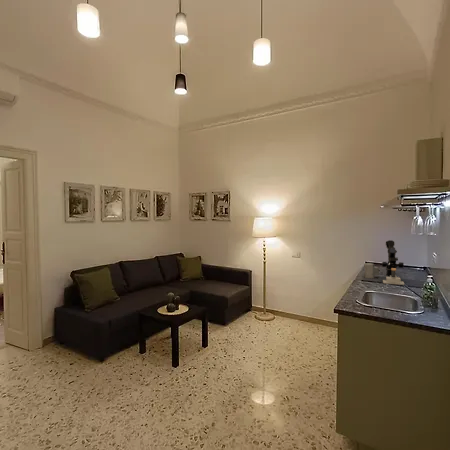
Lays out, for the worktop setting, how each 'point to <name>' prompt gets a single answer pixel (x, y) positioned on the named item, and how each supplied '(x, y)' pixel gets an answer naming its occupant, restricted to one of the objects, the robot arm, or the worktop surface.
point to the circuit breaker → (370, 270)
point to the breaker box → (393, 280)
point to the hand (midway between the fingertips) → (393, 271)
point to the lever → (393, 272)
